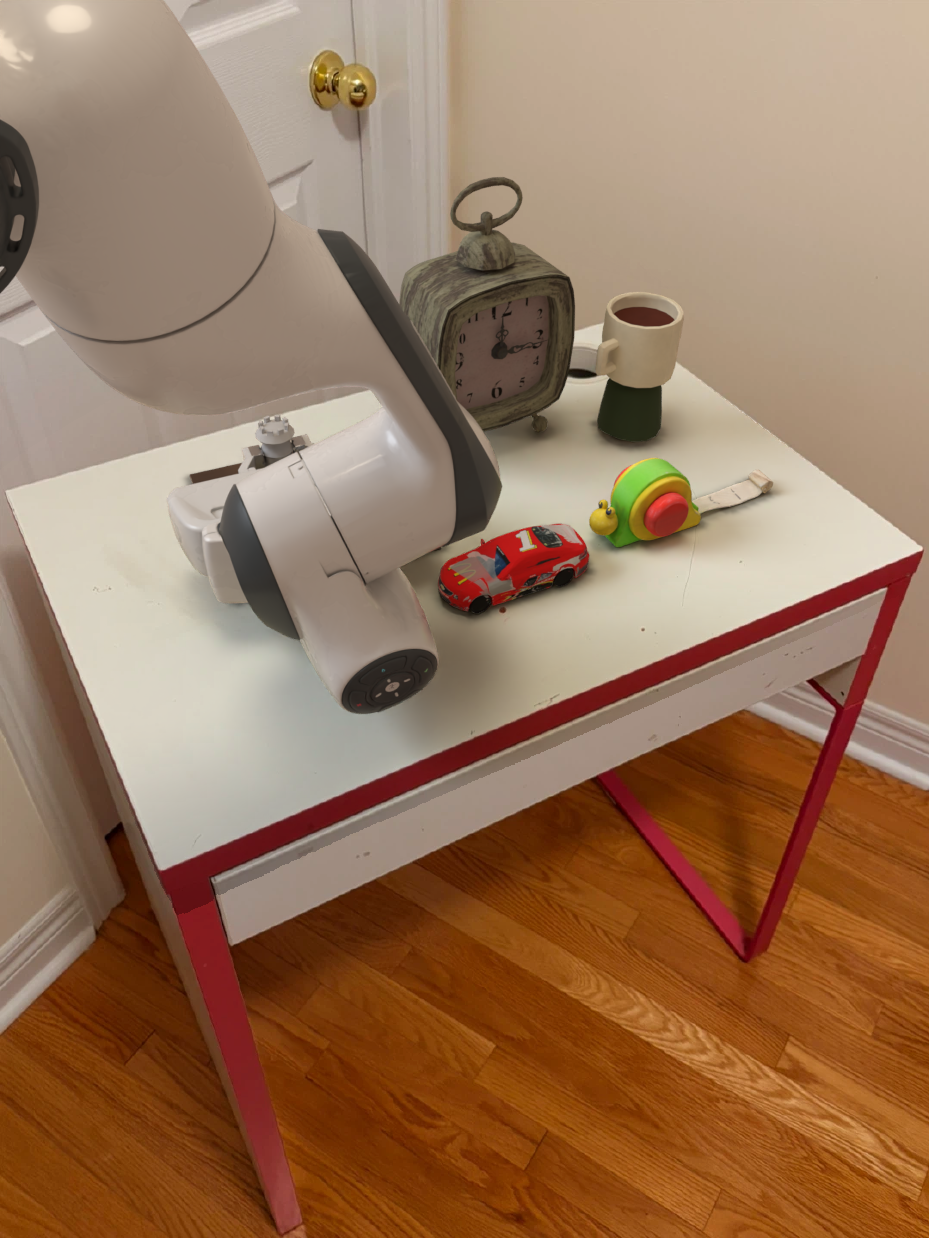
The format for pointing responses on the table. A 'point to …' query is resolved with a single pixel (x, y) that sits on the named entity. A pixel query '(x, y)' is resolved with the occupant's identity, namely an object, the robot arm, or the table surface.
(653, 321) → the cream coffee mug
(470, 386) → the tabletop clock
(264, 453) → the rook chess piece
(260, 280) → the robot arm
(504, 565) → the race car
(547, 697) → the table surface
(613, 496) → the toy measuring tape
